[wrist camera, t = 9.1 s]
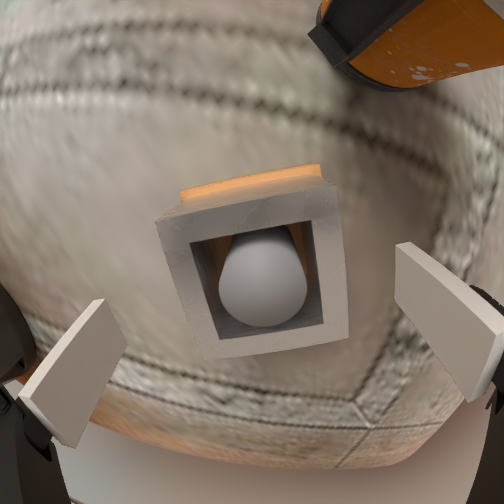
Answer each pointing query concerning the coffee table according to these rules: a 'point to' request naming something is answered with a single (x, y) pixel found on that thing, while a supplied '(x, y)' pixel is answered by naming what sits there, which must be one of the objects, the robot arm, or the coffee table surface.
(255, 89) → the coffee table surface
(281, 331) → the grey hollow block
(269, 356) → the coffee table surface
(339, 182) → the coffee table surface
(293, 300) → the block
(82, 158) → the coffee table surface
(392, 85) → the canister
